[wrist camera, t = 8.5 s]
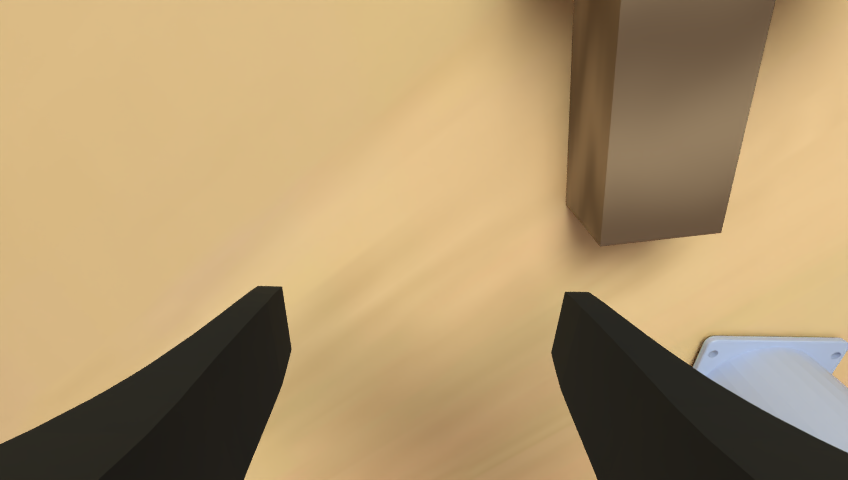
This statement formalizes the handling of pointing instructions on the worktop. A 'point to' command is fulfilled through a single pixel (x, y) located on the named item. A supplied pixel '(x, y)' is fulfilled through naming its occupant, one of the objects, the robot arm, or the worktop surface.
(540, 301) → the worktop surface
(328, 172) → the worktop surface
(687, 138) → the brown wooden bar
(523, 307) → the worktop surface
